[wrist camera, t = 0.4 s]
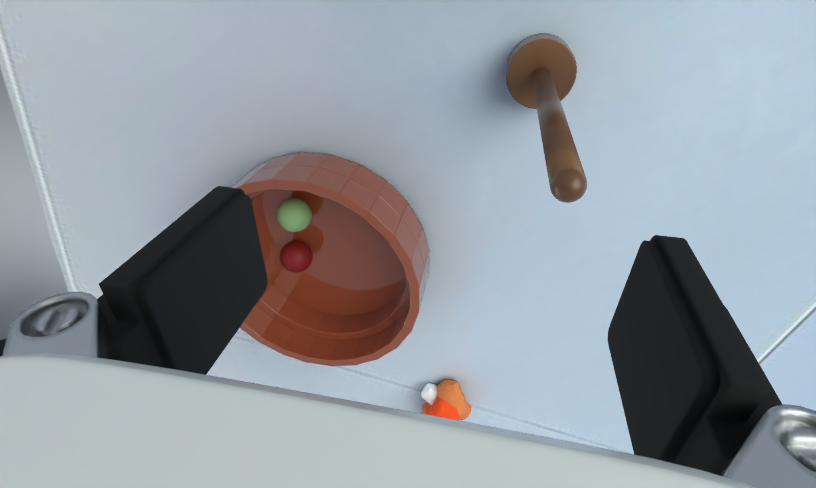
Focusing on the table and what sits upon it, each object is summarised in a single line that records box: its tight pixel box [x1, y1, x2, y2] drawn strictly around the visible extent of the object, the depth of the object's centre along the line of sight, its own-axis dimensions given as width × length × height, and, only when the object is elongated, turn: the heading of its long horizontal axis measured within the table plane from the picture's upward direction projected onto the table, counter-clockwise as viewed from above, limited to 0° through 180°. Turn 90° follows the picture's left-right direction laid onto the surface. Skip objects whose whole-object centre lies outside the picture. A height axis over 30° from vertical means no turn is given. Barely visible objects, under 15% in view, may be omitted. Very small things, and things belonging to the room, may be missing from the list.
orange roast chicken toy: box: [421, 380, 471, 420], centre depth 47 cm, size 6×10×12 cm, turn 167°
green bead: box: [277, 198, 312, 232], centre depth 39 cm, size 3×3×3 cm
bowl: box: [231, 152, 429, 366], centre depth 40 cm, size 20×20×6 cm
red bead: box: [280, 241, 313, 273], centre depth 41 cm, size 3×3×3 cm
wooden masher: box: [506, 33, 587, 202], centre depth 23 cm, size 4×4×19 cm
